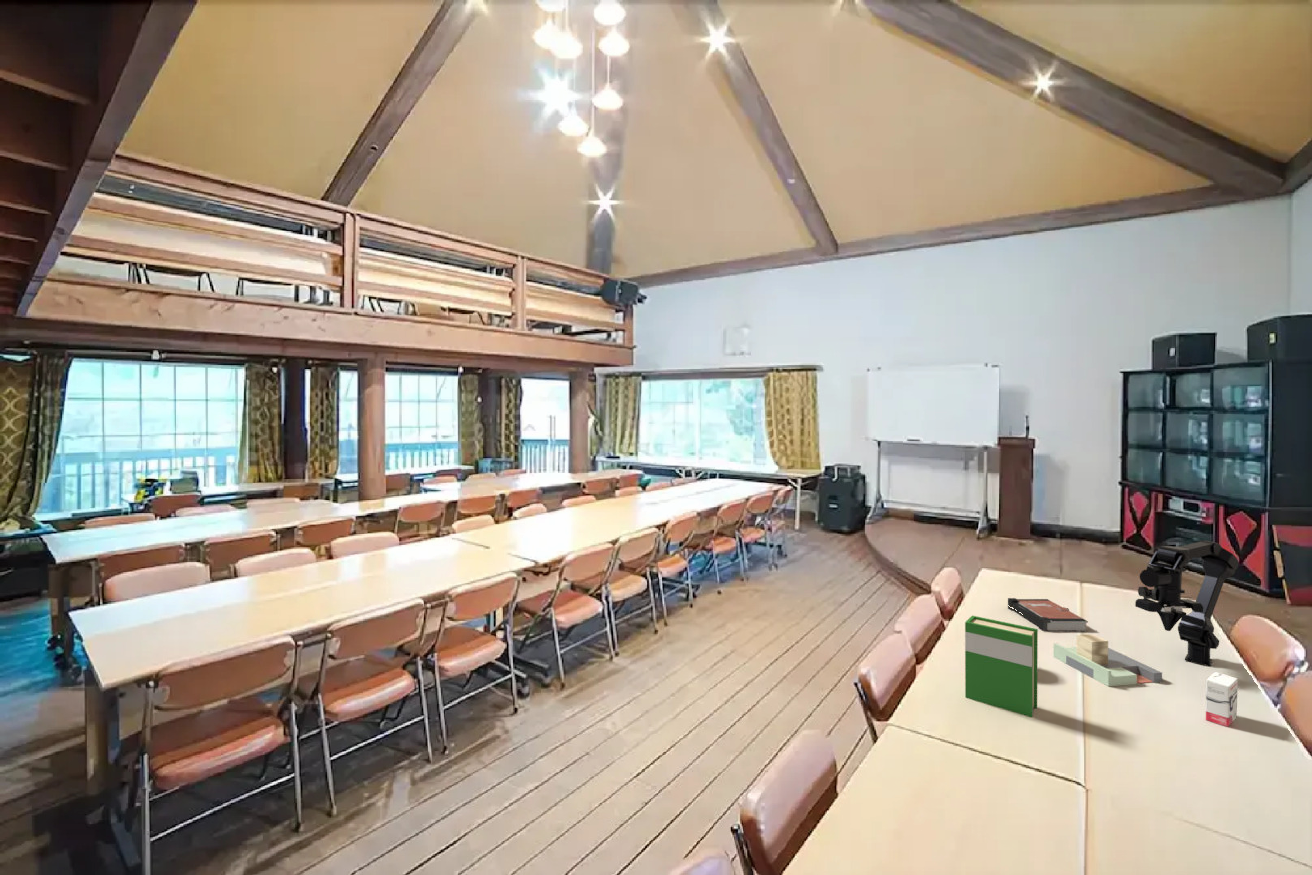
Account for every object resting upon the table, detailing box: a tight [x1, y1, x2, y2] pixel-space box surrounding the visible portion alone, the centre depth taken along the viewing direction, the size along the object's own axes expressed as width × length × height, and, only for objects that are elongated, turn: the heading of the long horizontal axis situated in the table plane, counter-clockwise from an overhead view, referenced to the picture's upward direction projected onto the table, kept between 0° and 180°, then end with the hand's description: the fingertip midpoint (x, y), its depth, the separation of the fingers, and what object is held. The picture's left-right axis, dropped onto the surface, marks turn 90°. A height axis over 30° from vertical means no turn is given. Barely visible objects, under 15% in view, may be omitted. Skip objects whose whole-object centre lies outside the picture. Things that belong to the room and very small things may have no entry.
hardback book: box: [964, 615, 1039, 718], centre depth 175 cm, size 18×7×24 cm, turn 46°
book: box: [1007, 597, 1089, 632], centre depth 240 cm, size 26×18×5 cm
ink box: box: [1205, 671, 1239, 728], centre depth 163 cm, size 8×5×12 cm, turn 123°
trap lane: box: [1053, 642, 1163, 687], centre depth 195 cm, size 19×22×5 cm
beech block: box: [1076, 633, 1109, 665], centre depth 194 cm, size 6×6×8 cm
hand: (1167, 630), depth 193 cm, fingers closed
